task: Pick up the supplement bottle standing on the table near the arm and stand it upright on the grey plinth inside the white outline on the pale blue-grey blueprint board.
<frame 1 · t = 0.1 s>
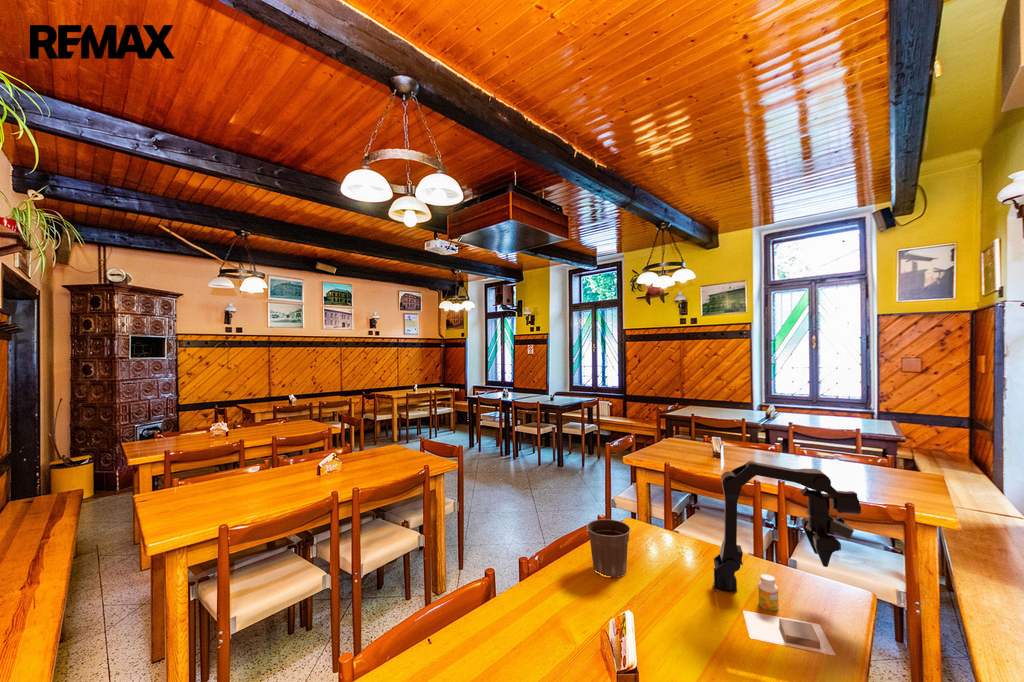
hand: (820, 560, 135), 15 cm above the table, fingers open, 9 cm apart
grey plinth: (799, 636, 119), resting on blueprint board
supplement bottle: (768, 609, 134), on the table
plant pot: (609, 571, 159), on the table
blueprint board: (785, 633, 122), on the table
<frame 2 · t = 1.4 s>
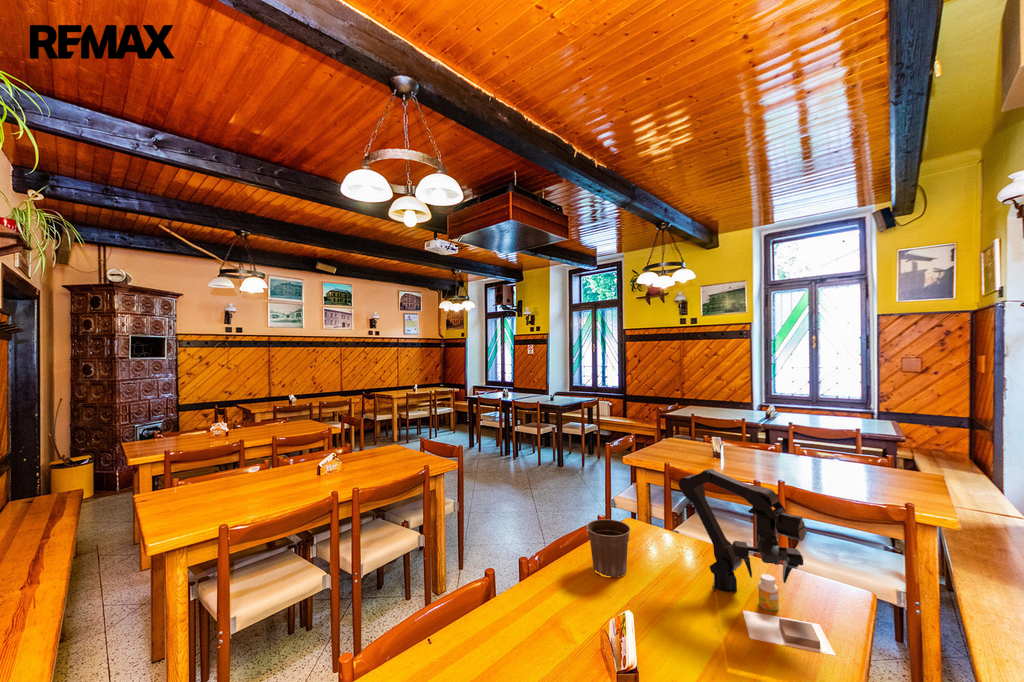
hand: (767, 579, 135), 9 cm above the table, fingers open, 9 cm apart
nothing on the table moved.
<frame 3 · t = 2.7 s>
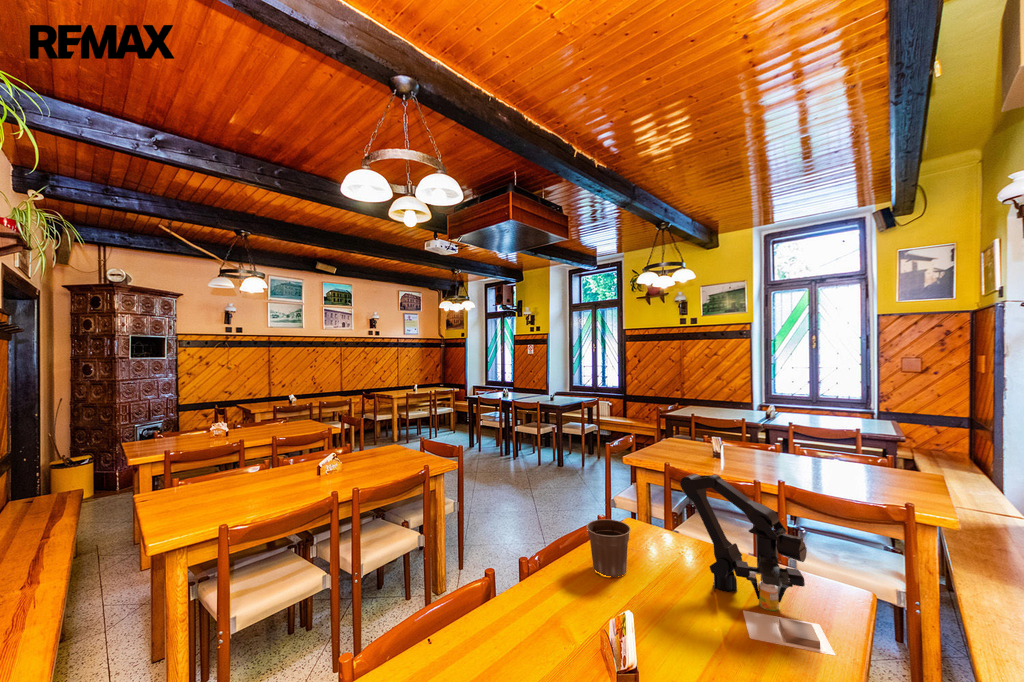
hand: (768, 600, 134), 3 cm above the table, fingers closed on supplement bottle, 5 cm apart
supplement bottle: (768, 609, 134), on the table, touching gripper
everything else where it was.
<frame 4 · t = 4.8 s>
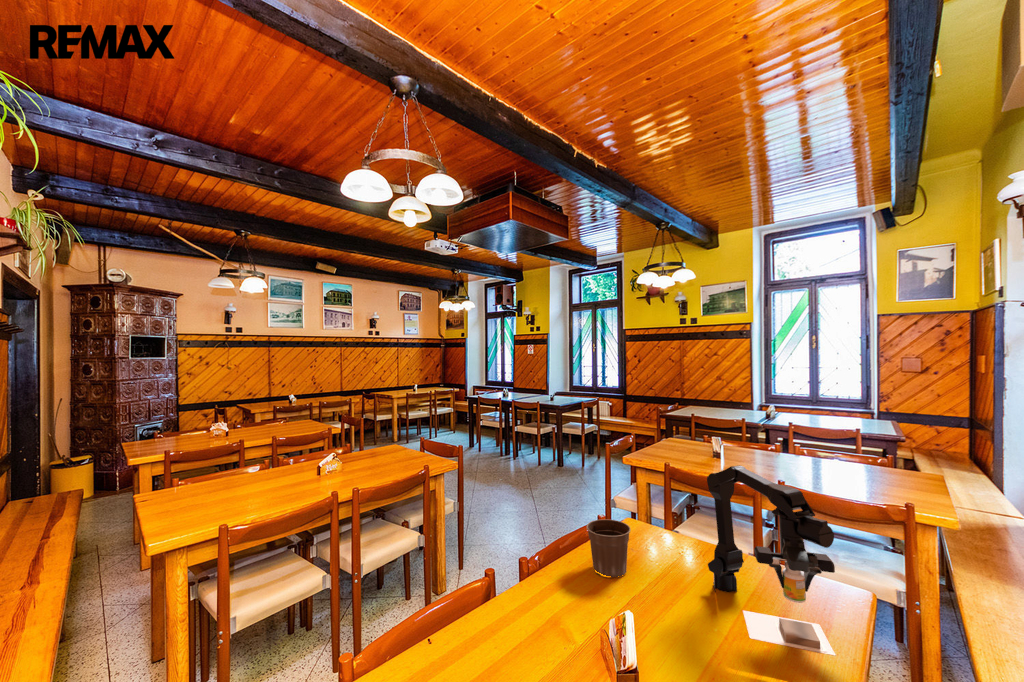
hand: (794, 589, 122), 13 cm above the table, fingers closed on supplement bottle, 5 cm apart
supplement bottle: (794, 599, 121), point 10 cm above the table, touching gripper
everything else where it was.
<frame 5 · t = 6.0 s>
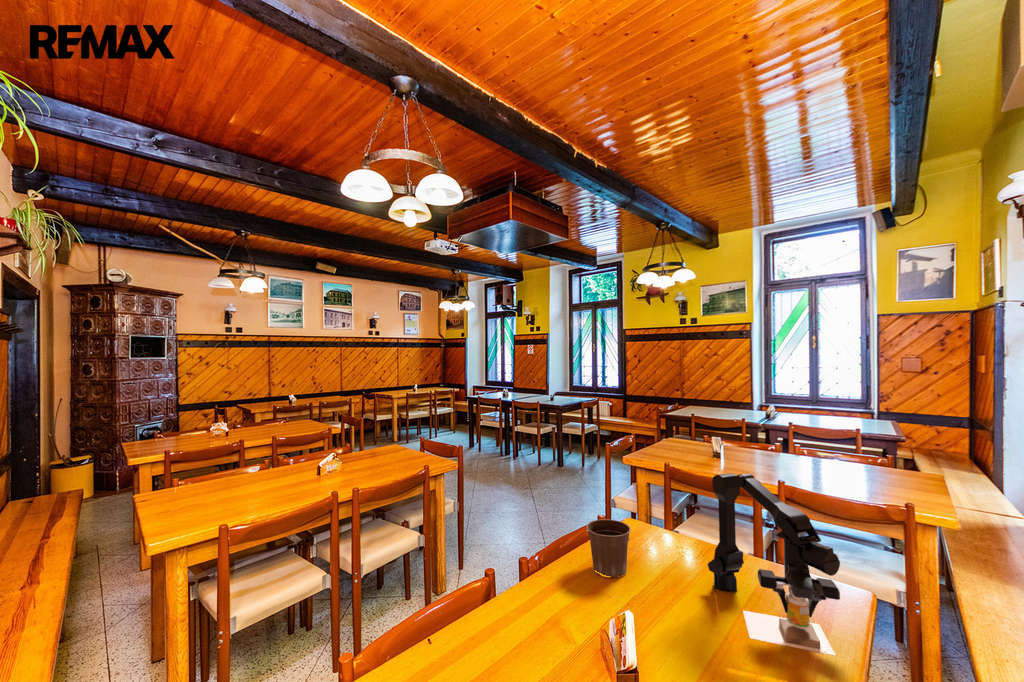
hand: (797, 614, 120), 7 cm above the table, fingers closed on supplement bottle, 5 cm apart
supplement bottle: (798, 624, 120), point 4 cm above the table, touching gripper
everything else where it was.
when the fingers open (6 cm above the table, at t = 6.9 s): supplement bottle drops 1 cm, resting on grey plinth.
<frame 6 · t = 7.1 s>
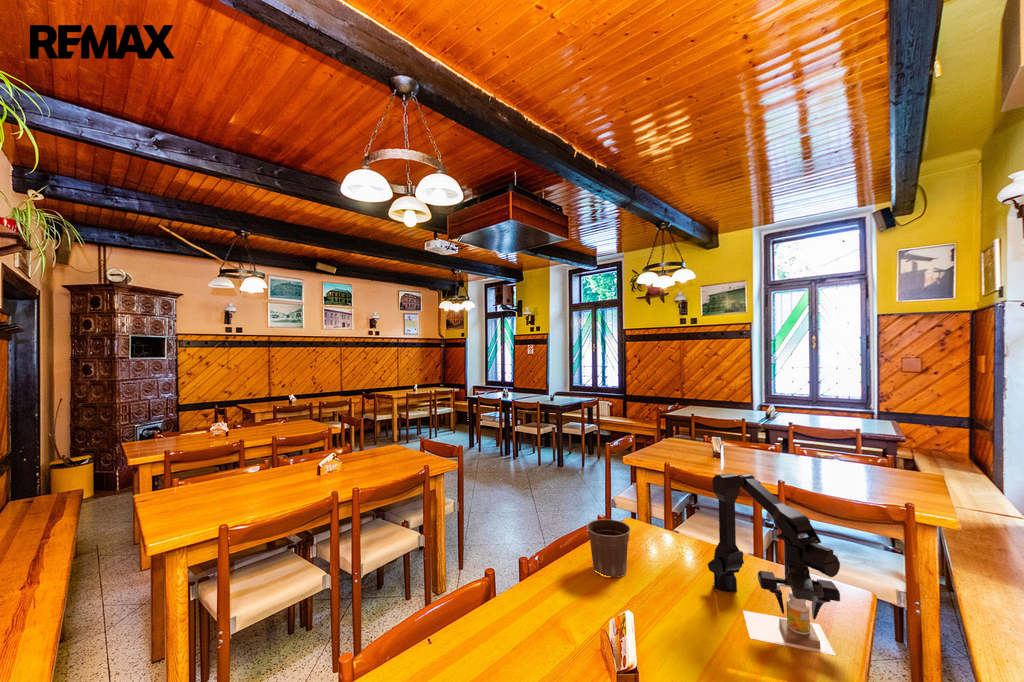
hand: (798, 615, 120), 6 cm above the table, fingers open, 7 cm apart
supplement bottle: (798, 629, 119), point 3 cm above the table, touching grey plinth
everything else where it was.
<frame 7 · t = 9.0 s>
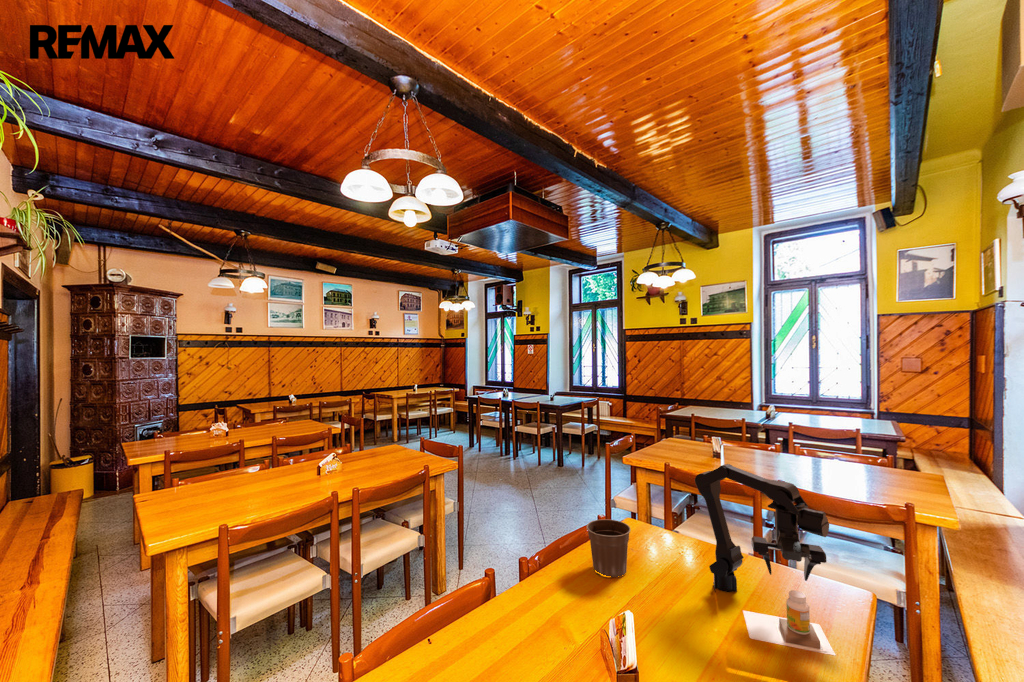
hand: (787, 577, 130), 12 cm above the table, fingers open, 9 cm apart
nothing on the table moved.
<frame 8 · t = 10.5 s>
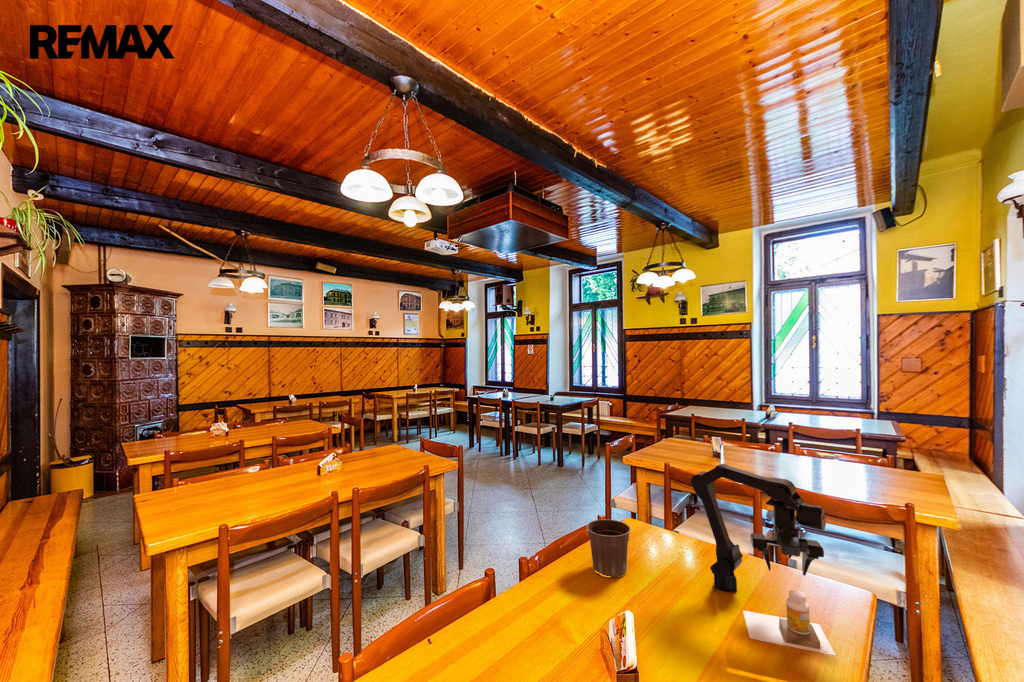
hand: (786, 572, 132), 13 cm above the table, fingers open, 9 cm apart
nothing on the table moved.
at the end: supplement bottle 0.1 cm from the target spot, point 2.6 cm above the table; supplement bottle tilted 0°; the gripper is holding nothing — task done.
